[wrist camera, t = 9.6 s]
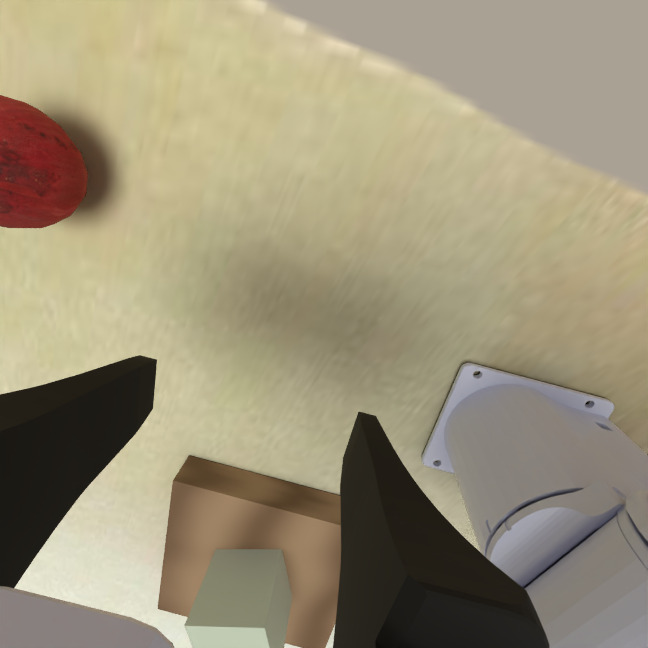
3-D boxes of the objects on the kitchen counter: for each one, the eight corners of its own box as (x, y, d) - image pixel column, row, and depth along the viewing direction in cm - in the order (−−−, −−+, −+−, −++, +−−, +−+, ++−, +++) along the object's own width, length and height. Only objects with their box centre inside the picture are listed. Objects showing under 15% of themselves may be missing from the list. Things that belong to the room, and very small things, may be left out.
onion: (124, 132, 20) (-21, 95, 12) (114, 235, 22) (-15, 258, 14) (21, 97, 19) (-190, 38, 12) (21, 204, 22) (-160, 210, 14)
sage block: (281, 549, 26) (264, 628, 21) (292, 597, 27) (278, 679, 23) (215, 549, 26) (184, 625, 22) (229, 596, 28) (203, 676, 23)
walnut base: (370, 503, 27) (371, 533, 25) (325, 619, 32) (322, 653, 29) (189, 455, 27) (173, 480, 25) (172, 578, 32) (157, 608, 30)
